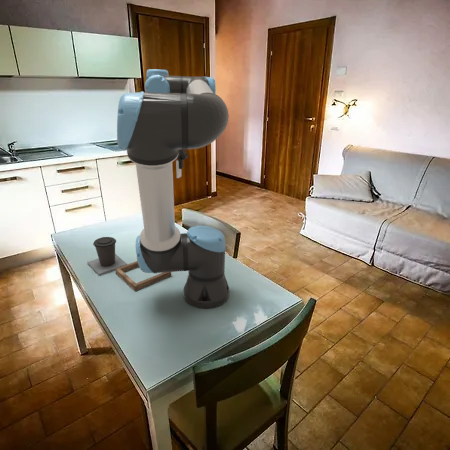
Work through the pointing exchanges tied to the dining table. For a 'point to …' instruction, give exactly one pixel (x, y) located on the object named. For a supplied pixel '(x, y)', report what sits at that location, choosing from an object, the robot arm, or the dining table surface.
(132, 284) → the wooden square frame
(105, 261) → the coffee cup
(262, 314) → the dining table surface
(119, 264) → the pad
